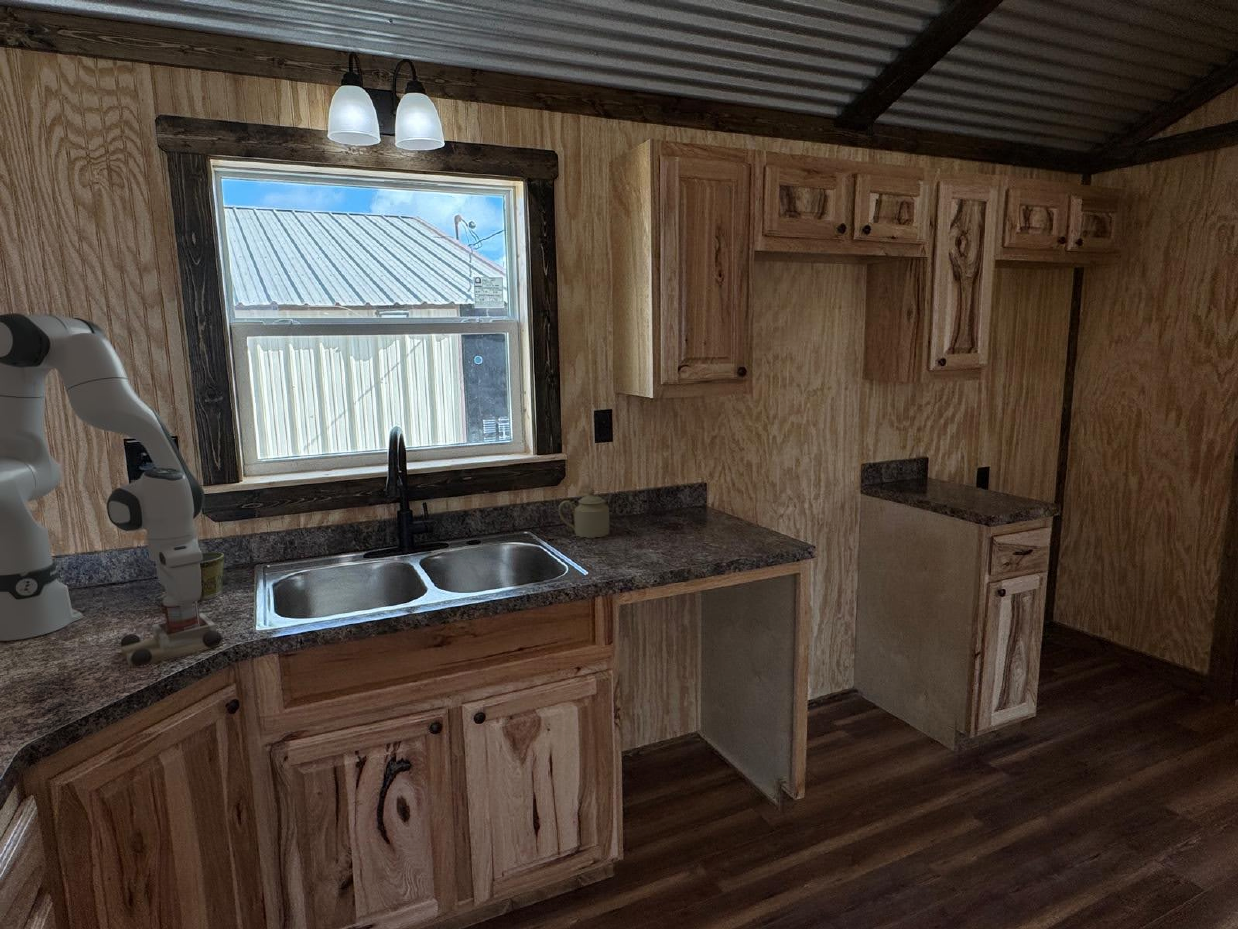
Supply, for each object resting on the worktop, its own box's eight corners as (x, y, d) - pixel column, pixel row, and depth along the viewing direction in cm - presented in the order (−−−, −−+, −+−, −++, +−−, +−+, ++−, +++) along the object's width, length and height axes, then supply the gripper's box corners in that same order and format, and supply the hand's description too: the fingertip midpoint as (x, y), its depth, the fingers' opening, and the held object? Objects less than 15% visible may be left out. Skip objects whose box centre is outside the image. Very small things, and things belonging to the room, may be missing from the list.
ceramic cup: (234, 595, 188) (230, 556, 186) (191, 606, 180) (186, 565, 179) (214, 584, 196) (210, 547, 195) (172, 594, 189) (167, 556, 187)
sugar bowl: (571, 542, 229) (570, 493, 227) (558, 534, 239) (556, 487, 236) (615, 535, 236) (614, 488, 233) (600, 527, 245) (599, 482, 243)
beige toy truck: (121, 652, 154) (118, 631, 153) (207, 630, 164) (205, 611, 164) (132, 669, 146) (129, 647, 145) (222, 645, 156) (220, 624, 156)
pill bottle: (176, 630, 159) (169, 580, 157) (206, 628, 160) (200, 578, 158) (162, 642, 153) (154, 589, 151) (193, 640, 154) (187, 588, 152)
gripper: (144, 541, 159) (152, 604, 161) (168, 561, 144) (176, 629, 146) (178, 535, 163) (185, 596, 165) (204, 554, 148) (212, 621, 150)
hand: (181, 612), depth 155 cm, fingers closed on pill bottle, 6 cm apart
